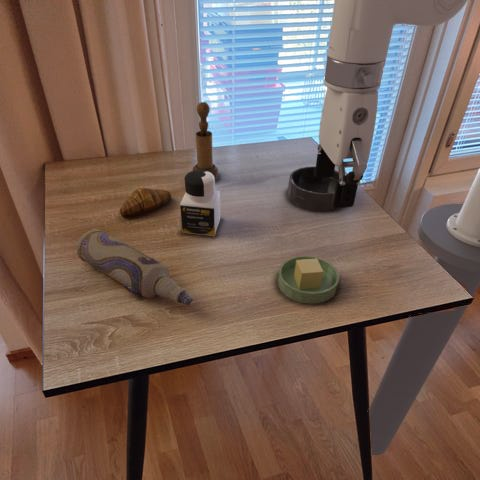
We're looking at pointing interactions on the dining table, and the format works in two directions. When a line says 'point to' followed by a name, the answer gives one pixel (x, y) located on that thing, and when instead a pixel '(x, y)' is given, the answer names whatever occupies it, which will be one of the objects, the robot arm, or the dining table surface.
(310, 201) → the bowl
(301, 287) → the yellow cube
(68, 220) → the dining table surface
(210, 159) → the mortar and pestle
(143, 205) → the croissant
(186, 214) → the medicine bottle
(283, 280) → the dish
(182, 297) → the decorative bottle
